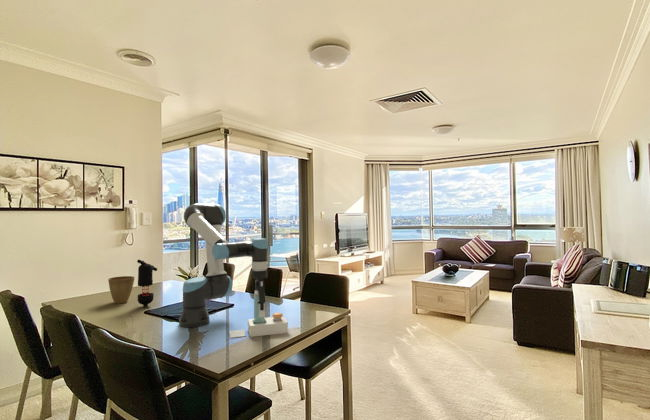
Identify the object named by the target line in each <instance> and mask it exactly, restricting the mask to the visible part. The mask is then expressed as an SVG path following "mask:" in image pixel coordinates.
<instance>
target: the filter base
mask: <svg viewBox="0 0 650 420" xmlns="http://www.w3.org/2000/svg"><path fill="white" fill-rule="evenodd" d="M288 323H289V322H288V321H287V319H286V318H285V316H283V317H281V321H275V322H274V318H273V316H270V317H269V316H268V317H265V323H261V324H254V318H248V319H247V332H248V333H249V336H250V337H251V338H252V337H259V336H260V337H261V336H269V335H279V334H288V332H289V328H288V327H289V326H288V325H289V324H288Z"/></svg>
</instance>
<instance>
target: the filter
mask: <svg viewBox="0 0 650 420" xmlns="http://www.w3.org/2000/svg"><path fill="white" fill-rule="evenodd" d="M136 262H137V264H139V266H138V269H137V270H138V271H137V272H138V274H137V275H138V276H137V286H138V287H142V290H141V291H142V293H138V294H137V302H138V304H140V305H142V306H143V308H145V307H149V304H151V303H152V302H153V301H154V295H155V293H153V292H150V291H149V290H150V289H149V287H150V286H152V285H154V283H153V281H154V280H153V271H154V272H156V271H158V268H157V267H156V266H154V265H152V264H149V263H147V262H145V261H144V260H141V259H137V261H136ZM144 287H145V288H146V292H145V288H144Z"/></svg>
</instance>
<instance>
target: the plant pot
mask: <svg viewBox="0 0 650 420" xmlns="http://www.w3.org/2000/svg"><path fill="white" fill-rule="evenodd" d="M107 280H108V287H109V292H110V295H111V297H112V301H113V303H114V304H123V303H124V304H125V303H127V302H128V301H129V299H130V296H131V293H132V291H133V287H134V282H135V276H133V275H132V276H131V275H130V276H127V275H125V276H123V275H122V276H114V277H109V278H107Z"/></svg>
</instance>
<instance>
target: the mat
mask: <svg viewBox="0 0 650 420" xmlns="http://www.w3.org/2000/svg"><path fill="white" fill-rule="evenodd" d="M245 331H246V330H245V329H237V330H236V329H235V330H229V337H230V338H229V339H236V338H245V337H246V332H245Z"/></svg>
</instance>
